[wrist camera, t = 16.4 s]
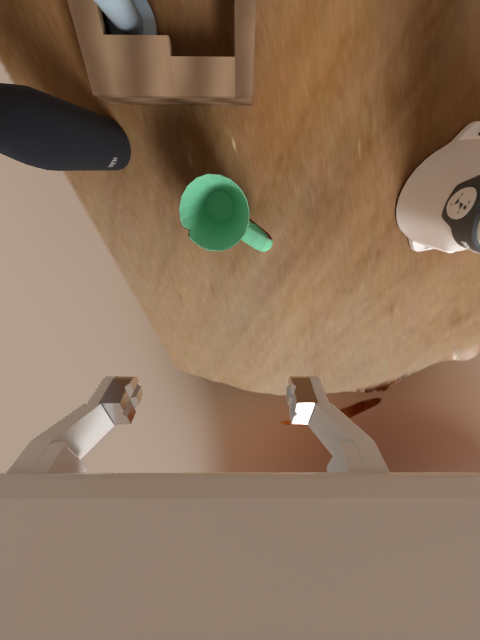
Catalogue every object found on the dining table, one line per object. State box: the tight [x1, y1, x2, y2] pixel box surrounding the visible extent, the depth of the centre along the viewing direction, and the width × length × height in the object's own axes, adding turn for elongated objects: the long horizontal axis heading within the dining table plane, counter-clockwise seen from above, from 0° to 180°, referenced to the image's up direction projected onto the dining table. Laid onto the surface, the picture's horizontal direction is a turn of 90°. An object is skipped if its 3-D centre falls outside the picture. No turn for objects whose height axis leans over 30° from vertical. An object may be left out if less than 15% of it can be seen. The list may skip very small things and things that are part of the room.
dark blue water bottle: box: [0, 83, 131, 171], centre depth 21 cm, size 6×6×30 cm
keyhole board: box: [67, 0, 256, 105], centre depth 25 cm, size 20×14×4 cm
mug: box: [179, 174, 273, 252], centre depth 34 cm, size 15×10×10 cm
